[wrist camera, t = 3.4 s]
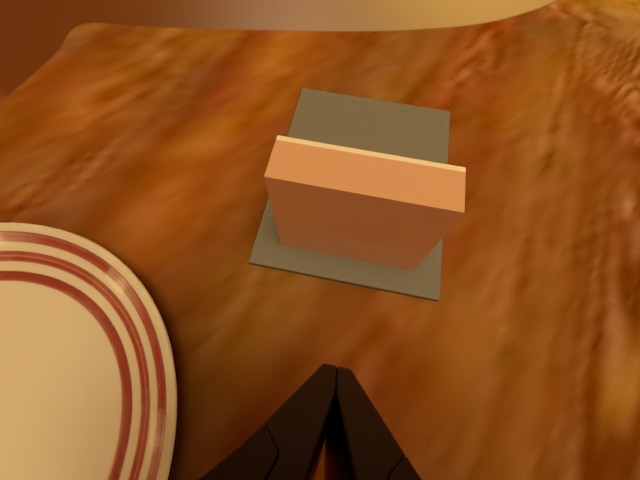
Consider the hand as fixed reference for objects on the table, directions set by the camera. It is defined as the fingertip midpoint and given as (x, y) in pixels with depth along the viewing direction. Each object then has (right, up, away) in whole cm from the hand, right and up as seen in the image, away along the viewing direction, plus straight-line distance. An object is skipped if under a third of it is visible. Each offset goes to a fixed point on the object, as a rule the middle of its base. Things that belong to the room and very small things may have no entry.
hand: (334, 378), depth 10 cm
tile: (+2, +4, +15) cm, 16 cm away
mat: (+3, +9, +18) cm, 20 cm away
